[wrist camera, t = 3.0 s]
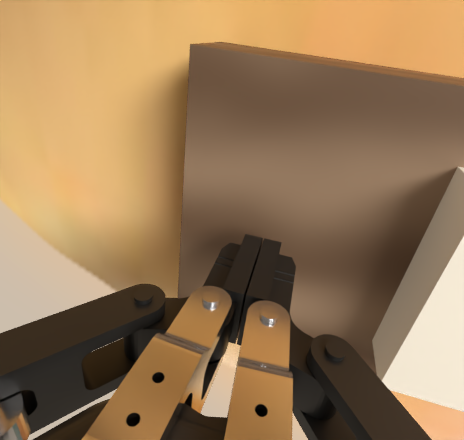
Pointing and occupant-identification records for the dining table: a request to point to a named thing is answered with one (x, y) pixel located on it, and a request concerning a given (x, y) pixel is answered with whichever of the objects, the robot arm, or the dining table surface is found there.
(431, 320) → the tile
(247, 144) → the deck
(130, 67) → the dining table surface
